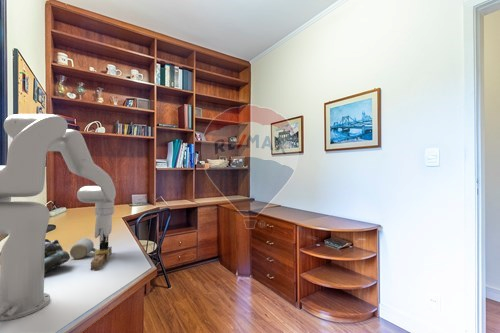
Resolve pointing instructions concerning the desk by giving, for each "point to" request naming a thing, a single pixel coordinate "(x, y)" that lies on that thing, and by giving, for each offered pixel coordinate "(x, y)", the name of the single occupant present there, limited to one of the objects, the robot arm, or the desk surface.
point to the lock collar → (102, 252)
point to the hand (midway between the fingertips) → (103, 250)
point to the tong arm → (100, 261)
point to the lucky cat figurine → (54, 255)
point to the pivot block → (110, 250)
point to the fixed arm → (94, 261)
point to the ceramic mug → (82, 249)
